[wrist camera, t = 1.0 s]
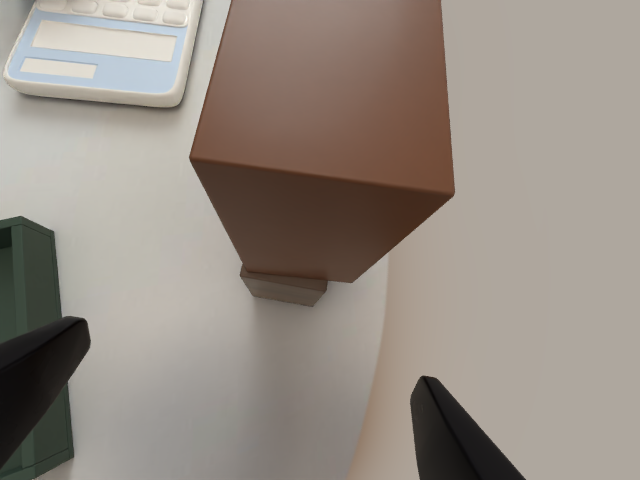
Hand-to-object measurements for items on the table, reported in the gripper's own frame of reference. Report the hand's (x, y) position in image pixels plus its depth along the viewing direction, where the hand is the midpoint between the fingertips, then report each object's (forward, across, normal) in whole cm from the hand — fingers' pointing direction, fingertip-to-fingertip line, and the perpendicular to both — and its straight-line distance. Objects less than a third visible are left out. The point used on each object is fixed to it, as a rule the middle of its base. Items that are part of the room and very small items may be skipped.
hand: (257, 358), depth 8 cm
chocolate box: (+11, 0, -2) cm, 11 cm away
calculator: (+28, +20, -9) cm, 36 cm away
